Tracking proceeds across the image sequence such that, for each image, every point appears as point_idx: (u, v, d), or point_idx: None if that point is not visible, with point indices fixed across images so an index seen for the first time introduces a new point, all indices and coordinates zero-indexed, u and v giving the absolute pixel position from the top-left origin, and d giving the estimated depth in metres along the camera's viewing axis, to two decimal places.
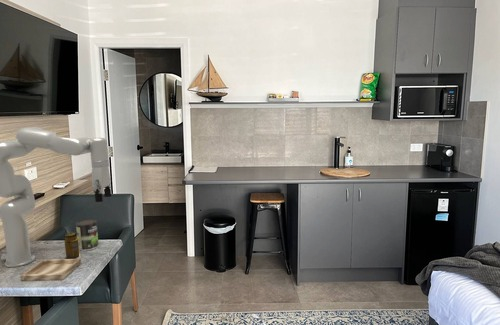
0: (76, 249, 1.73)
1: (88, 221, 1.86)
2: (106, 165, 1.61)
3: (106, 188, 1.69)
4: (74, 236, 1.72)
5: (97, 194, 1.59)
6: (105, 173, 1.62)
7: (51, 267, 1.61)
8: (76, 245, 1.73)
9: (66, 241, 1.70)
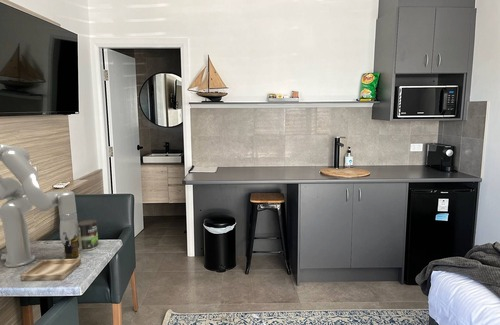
0: (75, 250, 1.72)
1: (88, 221, 1.86)
2: (74, 218, 1.69)
3: None
4: None
5: (66, 247, 1.68)
6: (72, 225, 1.70)
7: (51, 267, 1.61)
8: (75, 246, 1.72)
9: None
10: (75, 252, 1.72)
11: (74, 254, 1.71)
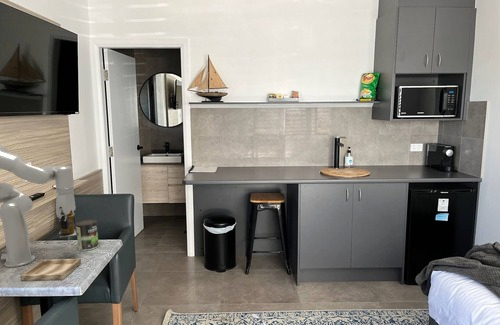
0: (71, 225, 1.70)
1: (88, 221, 1.86)
2: (70, 192, 1.67)
3: None
4: None
5: (62, 221, 1.66)
6: (69, 200, 1.68)
7: (51, 267, 1.61)
8: (71, 221, 1.70)
9: None
10: (71, 228, 1.70)
11: (70, 230, 1.69)
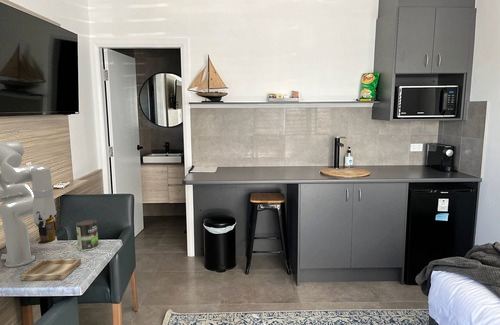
0: (51, 231, 1.54)
1: (88, 221, 1.86)
2: (49, 195, 1.51)
3: None
4: (49, 217, 1.53)
5: (40, 228, 1.50)
6: (48, 204, 1.52)
7: (51, 267, 1.61)
8: (51, 227, 1.54)
9: None
10: (51, 234, 1.54)
11: (50, 236, 1.53)
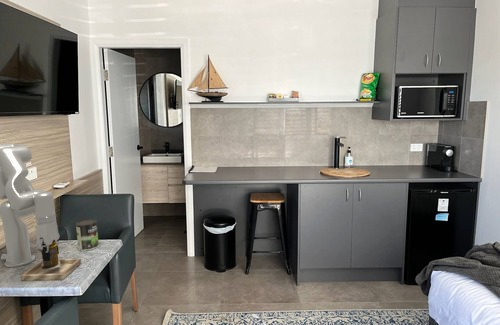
0: (54, 256, 1.55)
1: (88, 221, 1.86)
2: (52, 221, 1.53)
3: None
4: None
5: (44, 253, 1.52)
6: (51, 229, 1.53)
7: None
8: (54, 252, 1.55)
9: None
10: (54, 259, 1.55)
11: (53, 261, 1.55)
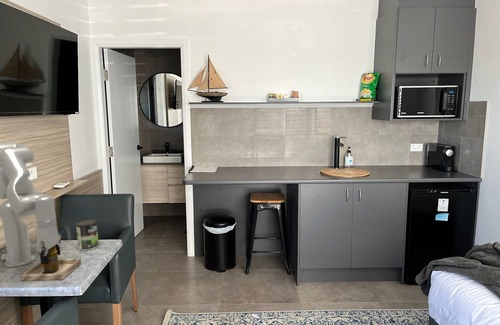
0: (55, 262, 1.56)
1: (88, 221, 1.86)
2: (52, 225, 1.53)
3: (55, 246, 1.61)
4: (52, 248, 1.55)
5: (42, 256, 1.51)
6: (51, 233, 1.54)
7: None
8: (55, 258, 1.56)
9: None
10: (54, 265, 1.56)
11: (53, 267, 1.56)
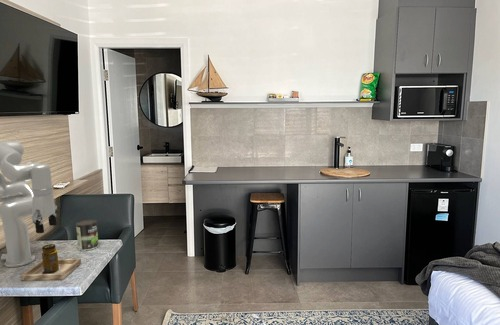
0: (55, 262, 1.56)
1: (88, 221, 1.86)
2: (48, 194, 1.51)
3: (51, 216, 1.59)
4: (52, 248, 1.55)
5: (37, 225, 1.48)
6: (47, 202, 1.52)
7: None
8: (55, 258, 1.56)
9: (43, 254, 1.54)
10: (54, 265, 1.56)
11: (53, 267, 1.56)
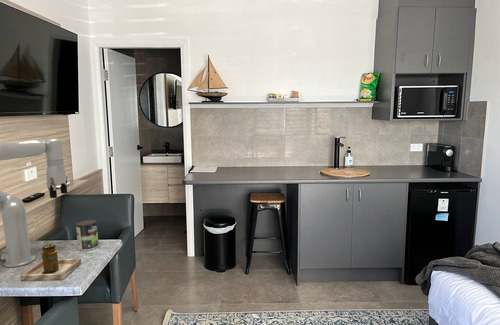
0: (55, 262, 1.56)
1: (88, 221, 1.86)
2: (60, 164, 1.73)
3: (62, 185, 1.81)
4: (52, 248, 1.55)
5: (51, 191, 1.71)
6: (59, 171, 1.74)
7: None
8: (55, 258, 1.56)
9: (43, 254, 1.54)
10: (54, 265, 1.56)
11: (53, 267, 1.56)
